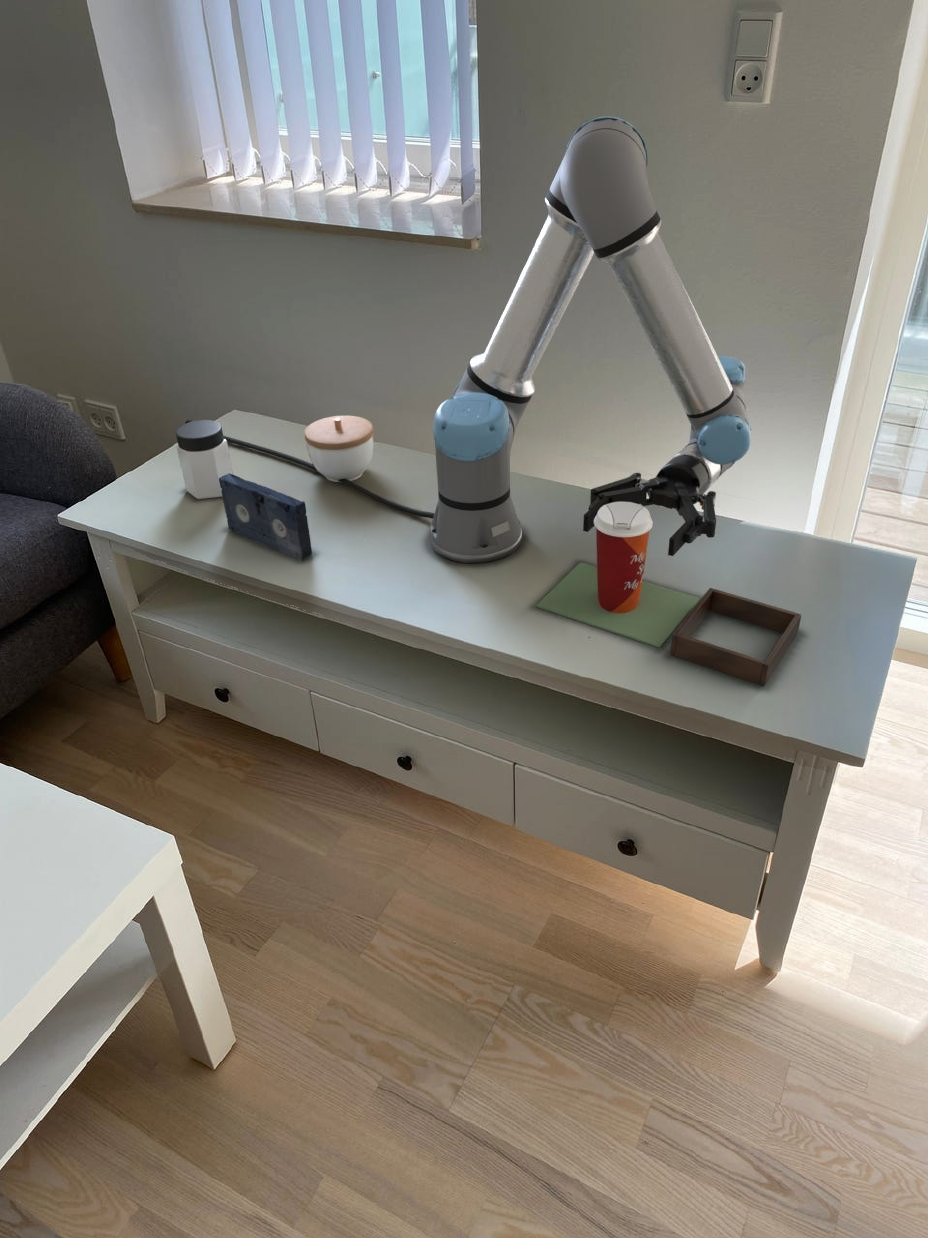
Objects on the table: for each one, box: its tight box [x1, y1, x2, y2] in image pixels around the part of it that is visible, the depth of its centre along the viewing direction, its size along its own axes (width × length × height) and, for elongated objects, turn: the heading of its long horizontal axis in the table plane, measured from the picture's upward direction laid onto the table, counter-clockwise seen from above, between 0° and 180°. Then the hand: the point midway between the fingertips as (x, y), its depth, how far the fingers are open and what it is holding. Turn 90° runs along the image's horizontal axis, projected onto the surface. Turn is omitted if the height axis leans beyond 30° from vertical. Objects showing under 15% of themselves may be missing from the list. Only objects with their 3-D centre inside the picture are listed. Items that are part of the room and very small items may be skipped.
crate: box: [669, 587, 802, 687], centre depth 135 cm, size 13×13×4 cm
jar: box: [175, 419, 234, 500], centre depth 178 cm, size 9×8×12 cm
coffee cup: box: [594, 502, 654, 613], centre depth 141 cm, size 8×8×15 cm
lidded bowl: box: [303, 415, 375, 483], centre depth 181 cm, size 13×13×11 cm
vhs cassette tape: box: [219, 473, 313, 561], centre depth 161 cm, size 18×3×10 cm, turn 51°
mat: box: [535, 562, 700, 649], centre depth 145 cm, size 20×14×1 cm
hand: (627, 535), depth 141 cm, fingers open, 13 cm apart
